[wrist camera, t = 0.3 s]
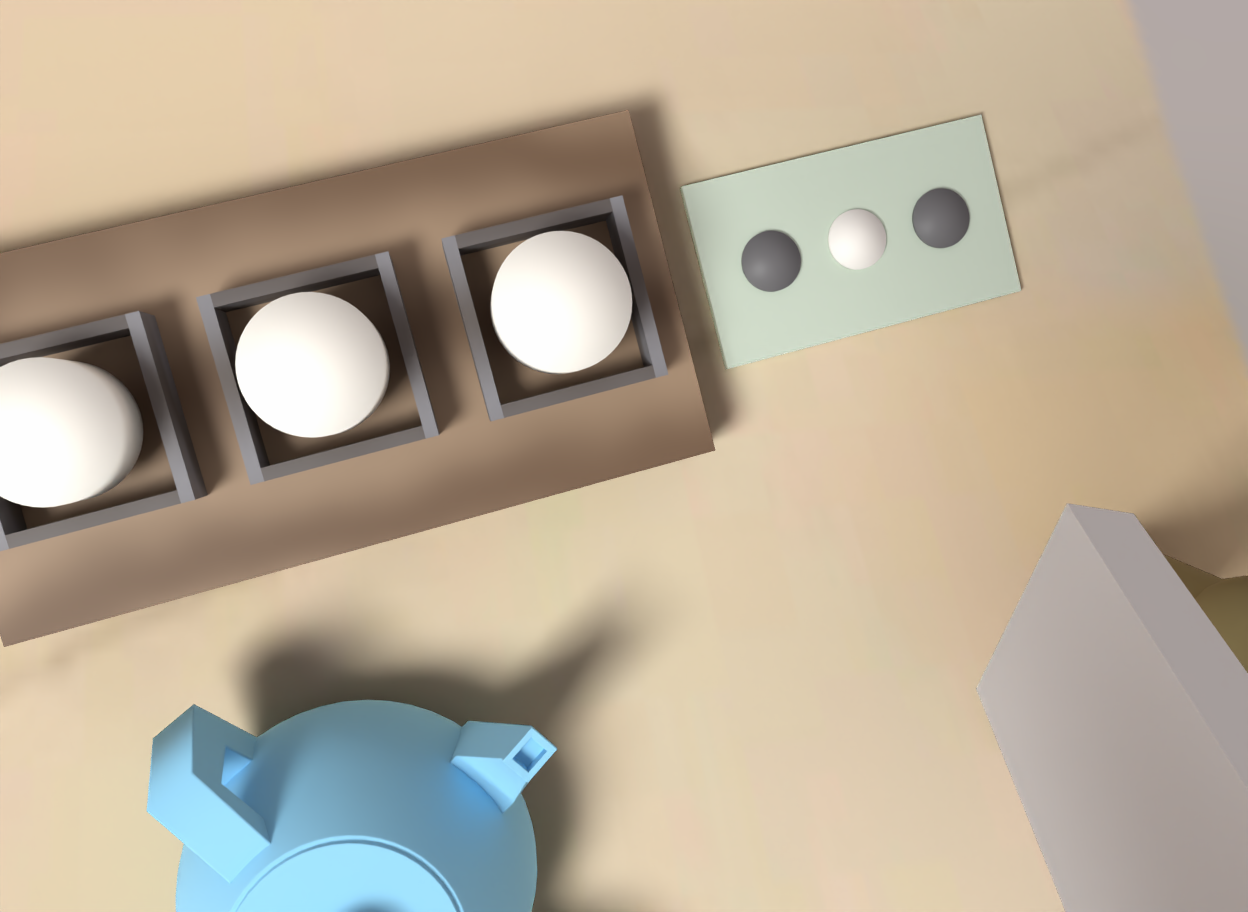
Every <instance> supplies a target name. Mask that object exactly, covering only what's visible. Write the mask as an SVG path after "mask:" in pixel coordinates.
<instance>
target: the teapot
mask: <svg viewBox="0 0 1248 912" xmlns="http://www.w3.org/2000/svg"><path fill="white" fill-rule="evenodd" d="M556 750H557V747H556V746H555V745H553V744H552V743H551V742H550V741H549V740H548V739H546V738H545V737H544V736H543V735H542V734H541V733H539V732H538V731H537V730H536V729H535V728H534V727H532V726H531V725H519V724H506V723H493V722H480V721H467V722H466V723H465V724H464V725H463V726H462V727H461V726H460V725H458V724H457V723H455V722H454V721H452V720H450V719H448V718H446V717H443V716H441V715H439V714H437V713H435V712H433V711H430V710H427V709H423V708H420V707H417V706H414V705H411V704H405V703H399V702H393V701H385V700H356V701H343V702H339V703H334V704H329V705H324V706H320V707H317V708H314V709H311V710H308V711H305V712H302V713H299V714H297V715H295V716H293V717H291V718H289V719H287V720H285V721H283V722H281V723H279V724H277V725H275V726H274V727H272V728H271V729H269V730H268V731H266V732H265V733H263V734H261V735H260V736H258V737H255V736H253V735H251V734H249V733H248V732H246V731H244V730H242V729H240V728H238V727H236V726H234V725H232V724H231V723H229V722H227V721H225V720H223V719H221V718H219V717H217V716H215V715H213V714H212V713H210V712H208V711H206V710H204V709H202V708H200V707H198V706H196V705H194V704H193V705H192V706H191V707H190V708H189V709H188V710H186V711H185V712H184V713H183V714H182V715H180V716H179V717H178V718H177V719H176V720H174V721H173V722H172V723H171V724H170V725H169V726H167V727H166V728H165V729H164V730H163V731H161V732H160V733H159V734H158V735H157V736H155V737H154V738H153V745H152V757H151V769H150V780H149V792H148V803H147V812H148V813H149V814H151V815H152V816H153V817H154V818H155V819H156V820H157V821H159V822H160V823H161V824H162V825H163V826H164V827H166V828H167V829H168V830H169V831H170V832H171V833H172V834H174V835H175V836H176V837H177V838H178V839H179V840H180V841H182V842H183V843H184V845H183V850H182V854H181V859H180V864H179V869H178V875H177V888H176V912H532V907H533V902H534V898H535V893H536V881H537V855H536V842H535V836H534V831H533V825H532V821H531V818H530V815H529V811H528V808H527V805H526V802H525V800H524V798H523V796H522V794H521V792H522V791H523V789H524V788H525V787H526V785H527V784H528V783H529V782H530V780H531V779H532V778H533V776H534V775H535V774H536V773H537V772H538V771H539V769H540V768H541V767H542V766H543V765H544V764H545V763H546V761H547V760H548V759H549V758H550V757H551V756H552V755H553V753H554V752H555V751H556Z"/></svg>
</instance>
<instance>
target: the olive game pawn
mask: <svg viewBox="0 0 1248 912" xmlns="http://www.w3.org/2000/svg"><path fill="white" fill-rule="evenodd" d="M1163 555H1164V554H1163ZM1164 557H1165V558H1166V560H1167V561H1168V562H1169V564H1170V565H1171V567H1172V568H1173V569H1174V571H1175V572H1176V574H1177V575H1178V576H1179V578H1180V579H1181V581H1182V582H1183V583H1184V585H1185V586H1186V588H1187V589H1188V590H1189V592H1190V593H1191V595H1192V596H1193V597H1194V599H1195V600H1196V602H1197V603H1198V604H1199V606H1200V607H1201V609H1202V610H1203V611H1204V613H1205V614H1206V616H1207V617H1208V618H1209V620H1210V621H1211V623H1212V624H1213V625H1214V627H1215V628H1216V630H1217V631H1218V632H1219V634H1220V635H1221V637H1222V638H1223V639H1224V641H1225V642H1226V644H1227V645H1228V646H1229V648H1230V649H1231V651H1232V652H1233V653H1234V655H1235V656H1236V658H1237V659H1238V660H1239V662H1240V663H1241V665H1242V666H1243V667H1244V669H1245V670H1246V672H1247V673H1248V576H1241V577H1234V578H1227V579H1221V578H1219V577H1216V576H1214V575H1212V574H1209V573H1207V572H1204V571H1202V570H1200V569H1197V568H1195V567H1193V566H1190V565H1188V564H1185V563H1183V562H1181V561H1178V560H1176V559H1173V558H1171V557H1169V556H1166V555H1164Z"/></svg>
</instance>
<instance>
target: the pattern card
mask: <svg viewBox="0 0 1248 912" xmlns="http://www.w3.org/2000/svg"><path fill="white" fill-rule="evenodd" d="M680 191H681V195H682V199H683V203H684V207H685V211H686V215H687V219H688V223H689V227H690V231H691V235H692V239H693V243H694V247H695V251H696V254H697V258H698V262H699V266H700V270H701V274H702V278H703V282H704V286H705V290H706V294H707V298H708V302H709V306H710V310H711V314H712V318H713V322H714V326H715V330H716V334H717V338H718V342H719V346H720V350H721V353H722V357H723V361H724V365H725V369H729V368H733V367H737V366H741V365H744V364H748V363H752V362H756V361H759V360H763V359H767V358H771V357H774V356H778V355H782V354H786V353H789V352H793V351H797V350H801V349H804V348H808V347H812V346H816V345H819V344H823V343H827V342H831V341H835V340H838V339H842V338H846V337H850V336H853V335H857V334H861V333H865V332H868V331H872V330H876V329H880V328H883V327H887V326H891V325H895V324H898V323H902V322H906V321H910V320H913V319H917V318H921V317H925V316H929V315H932V314H936V313H940V312H944V311H947V310H951V309H955V308H959V307H962V306H966V305H970V304H974V303H977V302H981V301H985V300H989V299H992V298H996V297H1000V296H1004V295H1007V294H1011V293H1015V292H1019V291H1021V287H1020V282H1019V278H1018V273H1017V269H1016V265H1015V260H1014V256H1013V252H1012V247H1011V243H1010V238H1009V234H1008V230H1007V225H1006V221H1005V217H1004V212H1003V208H1002V203H1001V199H1000V195H999V190H998V186H997V181H996V177H995V173H994V168H993V164H992V160H991V155H990V151H989V146H988V142H987V138H986V133H985V129H984V124H983V120H982V116H981V115H977V116H973V117H969V118H965V119H960V120H956V121H952V122H948V123H944V124H940V125H935V126H931V127H927V128H923V129H919V130H915V131H910V132H906V133H902V134H898V135H894V136H890V137H885V138H881V139H877V140H873V141H869V142H865V143H860V144H856V145H852V146H848V147H844V148H840V149H835V150H831V151H827V152H823V153H819V154H814V155H810V156H806V157H802V158H798V159H794V160H789V161H785V162H781V163H777V164H773V165H769V166H764V167H760V168H756V169H752V170H748V171H744V172H739V173H735V174H731V175H727V176H723V177H719V178H714V179H710V180H706V181H702V182H698V183H694V184H689V185H685V186H682V187H681V188H680Z"/></svg>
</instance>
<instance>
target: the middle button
mask: <svg viewBox="0 0 1248 912" xmlns="http://www.w3.org/2000/svg"><path fill="white" fill-rule="evenodd" d="M235 366H236V376H237V380H238V384H239V387H240V390H241V392H242V394H243V396H244V398H245V400H246V402H247V403H248V405H249V406H250V407H251V409H252V410H253V411H254V412H255V413H256V414H257V415H258V416H259V417H260V418H261V419H262V420H263V421H265V422H266V423H267V424H269V425H271V426H272V427H274V428H276V429H278V430H280V431H282V432H284V433H288V434H291V435H295V436H300V437H311V438H312V437H324V436H329V435H334V434H339V433H342V432H345V431H348V430H350V429H352V428H354V427H356V426H358V425H359V424H361V423H362V422H364V421H365V420H366V419H367V418H368V417H370V416H371V414H372V413H373V412H374V411H375V410H376V409H377V407H378V406H379V404H380V403H381V401H382V399H383V397H384V395H385V392H386V389H387V386H388V382H389V376H390V362H389V356H388V351H387V348H386V345H385V342H384V340H383V338H382V336H381V334H380V333H379V332H378V330H377V329H376V327H375V326H374V325H373V324H372V323H371V321H370V320H369V319H368V318H367V317H366V316H365V315H364V314H363V313H361V312H360V311H359V310H358V309H357V308H356V307H354V306H353V305H351V304H350V303H348V302H346V301H344V300H342V299H340V298H338V297H335V296H332V295H328V294H324V293H317V292H300V293H294V294H290V295H286V296H283V297H280V298H278V299H276V300H274V301H272V302H270V303H269V304H267V305H266V306H264V307H263V308H262V309H261V310H259V311H258V312H257V313H256V314H255V315H254V316H253V318H252V319H251V320H250V321H249V323H248V324H247V326H246V327H245V329H244V331H243V333H242V335H241V337H240V340H239V343H238V346H237V351H236V361H235Z"/></svg>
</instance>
